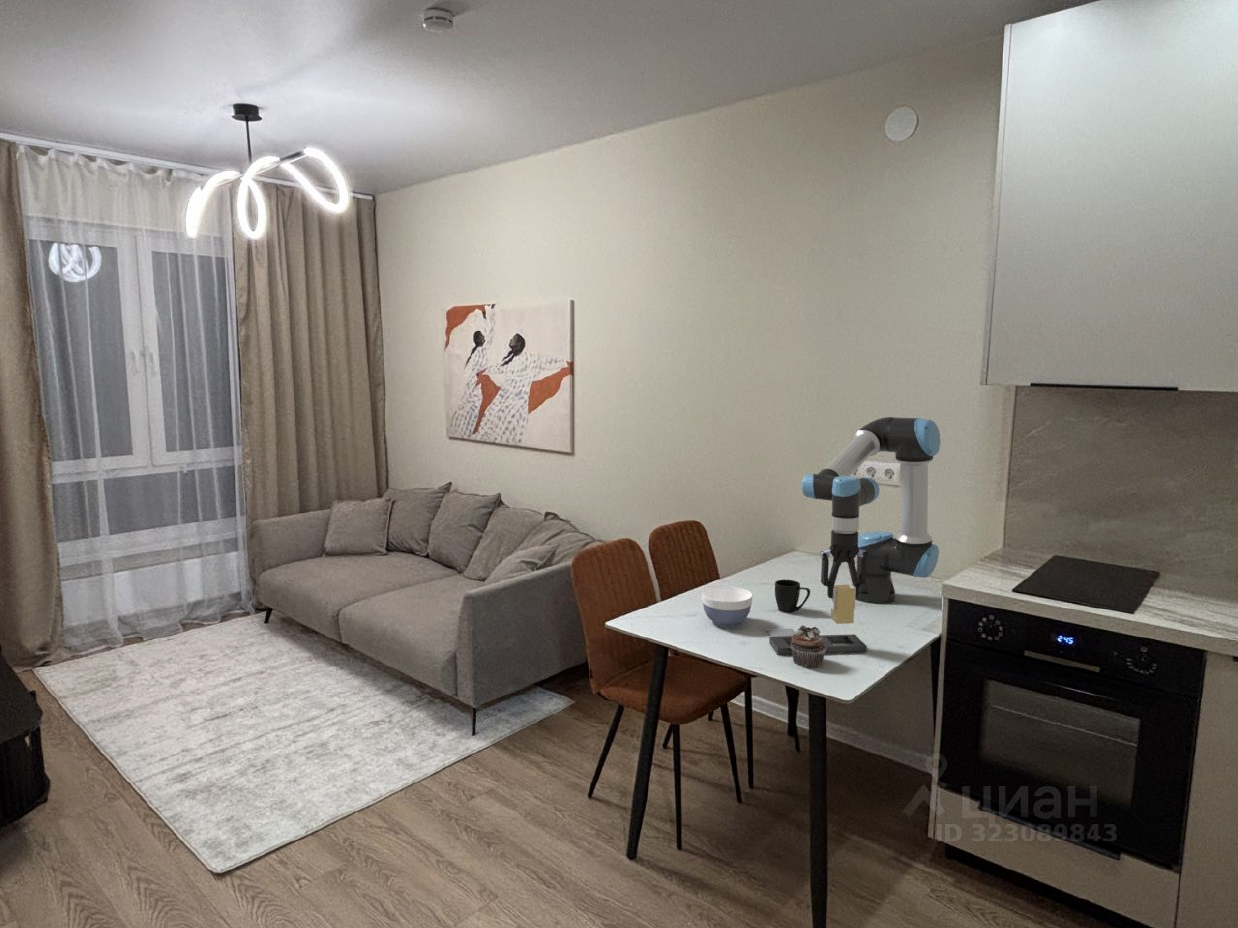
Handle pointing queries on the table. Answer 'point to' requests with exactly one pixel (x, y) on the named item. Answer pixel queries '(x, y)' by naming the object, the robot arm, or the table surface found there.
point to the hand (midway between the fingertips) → (842, 607)
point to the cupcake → (808, 647)
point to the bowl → (727, 605)
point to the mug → (788, 595)
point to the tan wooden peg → (843, 605)
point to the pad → (780, 632)
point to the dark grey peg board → (854, 642)
